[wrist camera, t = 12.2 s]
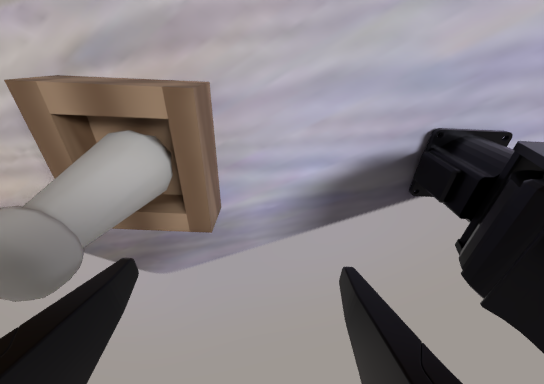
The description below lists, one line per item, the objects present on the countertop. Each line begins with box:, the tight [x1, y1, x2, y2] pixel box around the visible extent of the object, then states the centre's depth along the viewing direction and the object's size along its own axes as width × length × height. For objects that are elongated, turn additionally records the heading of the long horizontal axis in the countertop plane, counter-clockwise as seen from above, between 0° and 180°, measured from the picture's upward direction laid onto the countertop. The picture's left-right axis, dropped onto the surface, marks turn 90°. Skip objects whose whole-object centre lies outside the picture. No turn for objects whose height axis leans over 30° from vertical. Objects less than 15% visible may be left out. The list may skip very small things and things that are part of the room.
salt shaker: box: [0, 130, 173, 302], centre depth 15 cm, size 6×6×13 cm
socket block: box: [4, 75, 221, 233], centre depth 19 cm, size 12×12×4 cm
